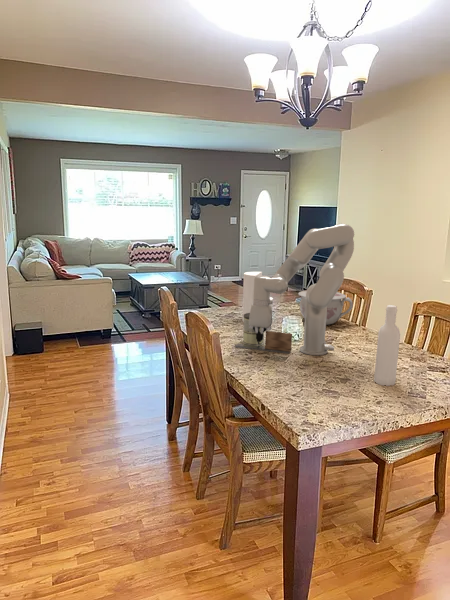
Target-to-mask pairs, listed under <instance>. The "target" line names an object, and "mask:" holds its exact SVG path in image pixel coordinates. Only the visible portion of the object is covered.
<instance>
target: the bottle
mask: <svg viewBox="0 0 450 600" xmlns="http://www.w3.org/2000/svg"><path fill="white" fill-rule="evenodd" d="M385 310H386V311H385V321H384V324H383V325H381V326H380V327H379V330H378V335H377V343H376V345H377V347H376V353H375V354H376V355H375V356H376V357H375V365H374V374H373V375H374V376H373V378H374V379H373V382H374V383H375V382H376V383H375V384H377V385H380V386H384V385H386V386H385V387H391V386H390V385H392V386H394V385H396V381H397V369H398V360H399V359H398V358H399V351H400V350H399V349H400V340H401V332H400V329H399V327H398V326H397V325H396V322H397V321H396V320H397V312H398V306H396V305H394V304H393V305H392V304H388V305H386V308H385Z"/></svg>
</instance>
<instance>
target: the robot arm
mask: <svg viewBox="0 0 450 600" xmlns="http://www.w3.org/2000/svg"><path fill="white" fill-rule="evenodd" d="M354 237H355V230H354V229H353V227H352V226H351V225H350V224H347V223H342V222H341V223H337V224H335V225H334V226H330V227H323V228H311V229H309V230H307V232H306V233H305V234H304V236H303V237H302V239H301V240H299V243H298V244H297V245H296V246H295V248H294V249H293V250H292V252H291V253H290V254H289V256H287V258H285V259H286V260H285V261H283V263H282V264H281V266H280V267H278V269H277V270H276V271H275V273H274V274H273V276H272V277H270V276H268V275H263V274H262V275H260V276H256V277H255V278H254V294H253V304H252V306H251V310H250V316H249V328H252V329H253V330H254V331H255V332H256V339H257V342H258V341H259V342H261V341H262V340H263V333H264V334H265V333H266V331H271V330H272V329H273V328H272V325H273V309H271V306H270V304H274V300H273V301H270V297H271V294H275V295H276V294H280V295H281V294H285V292H286V291H287V290H288V287H289V286H288V285H289V284H288V283H289V282H290V281H291V279H292V278H293V277H294V276H295V275H296V273H297V272H299V271H300V270H302V269H303V268H304V267H306V266H307V264H308V263H309V262H310V261H311V260H312V258H313V256H315V254H316V253H317V251H319V250H322V249H323V250H324V249H329V248H333V249H332V251H331V253H330V255H329V256H328V258H327V260H326V261H325V263H324V264H323V266H322V267H321V268H320V271H319V278H318V280H317V281H316V283H314V284H313V283H312V284H311V285H310V286H309V287H307V289H306V290H307V291H306V311H305V319H304V331H303V345H302V346H299V351H300V352H301V353H302V354H306V355H309V356H323V355H326V354H328V351H335V346H333V345H332V344H327V341H325V340H326V338H325V337H326V328H327V325H326V316H327V306H328V305H329V303H330V302H331V301H332V299H333V297H334V296H335V294H336V293H337V292H339V290H340V288H341V286H342V285H343V282H344V280H345V273H344V271H345V269H346V267H347V265H348V264H349V262H350V260H351V258H352V257H353V253H354V250H355V241H354ZM259 327H261V331H259Z"/></svg>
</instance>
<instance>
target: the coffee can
mask: <svg viewBox="0 0 450 600" xmlns="http://www.w3.org/2000/svg"><path fill="white" fill-rule="evenodd" d="M249 316H250V313H246V314H244V322H243V329H242V330H243V333H242V344H247V345H255V346H263V345H264V343H265V332H264V333H263V340H262V341H261V342H259V341H258V342H257V339H256V332H255V331H254V330H253V329H252V328H249ZM259 331H261V327H259Z"/></svg>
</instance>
